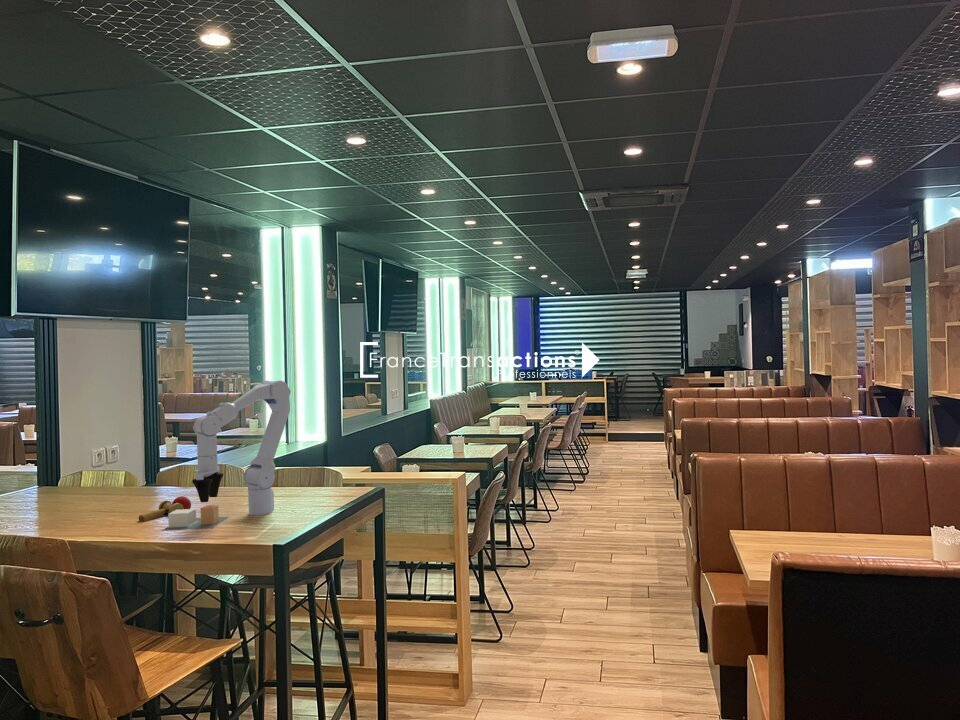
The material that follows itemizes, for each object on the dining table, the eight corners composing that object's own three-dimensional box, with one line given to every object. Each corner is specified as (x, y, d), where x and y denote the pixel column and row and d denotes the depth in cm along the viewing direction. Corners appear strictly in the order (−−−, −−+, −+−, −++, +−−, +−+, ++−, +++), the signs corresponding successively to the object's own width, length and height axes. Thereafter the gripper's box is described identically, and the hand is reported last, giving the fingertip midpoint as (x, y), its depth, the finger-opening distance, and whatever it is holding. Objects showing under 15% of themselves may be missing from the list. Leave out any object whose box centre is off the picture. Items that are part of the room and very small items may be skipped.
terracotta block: (205, 521, 225) (205, 505, 225) (218, 520, 225) (218, 504, 225) (201, 524, 221) (200, 508, 221) (214, 523, 221) (213, 507, 221)
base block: (176, 522, 225) (176, 509, 225) (196, 521, 225) (195, 508, 225) (168, 527, 219) (168, 513, 219) (188, 526, 219) (188, 513, 219)
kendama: (152, 529, 227) (198, 509, 243) (146, 509, 227) (193, 491, 242) (137, 531, 231) (184, 512, 246) (131, 512, 230) (178, 494, 246)
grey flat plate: (182, 520, 231) (182, 518, 231) (230, 519, 231) (230, 516, 231) (161, 533, 215) (161, 530, 215) (212, 531, 215) (212, 528, 215)
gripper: (203, 452, 230) (204, 495, 230) (185, 459, 216) (186, 504, 216) (225, 452, 230) (227, 494, 230) (208, 458, 216) (210, 503, 216)
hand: (209, 499), depth 223 cm, fingers open, 7 cm apart
